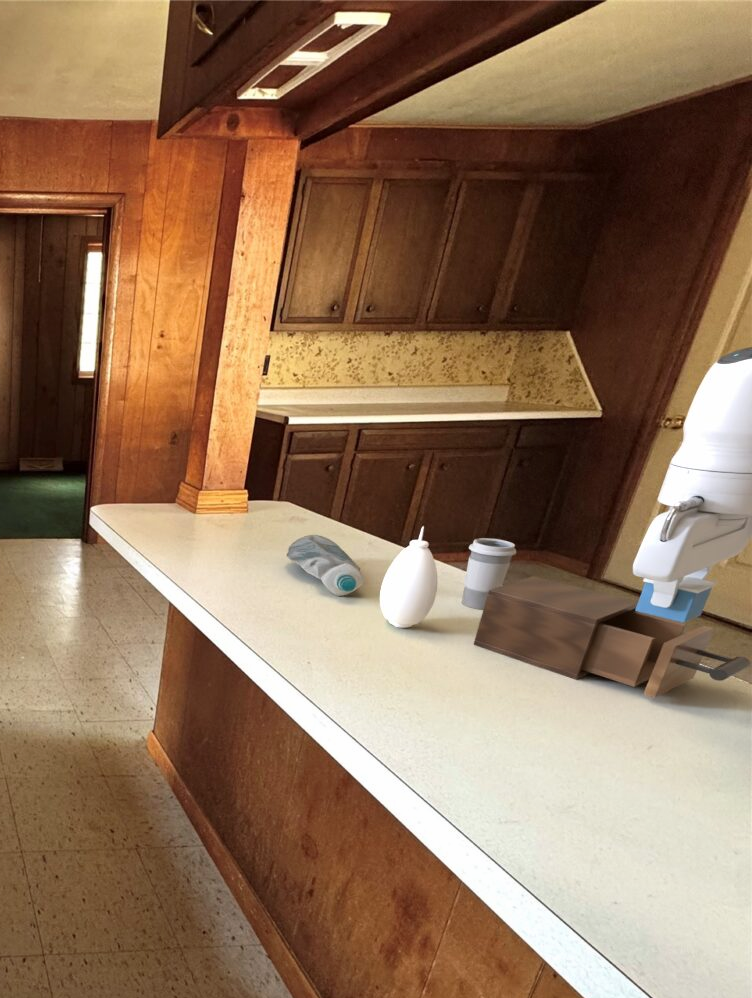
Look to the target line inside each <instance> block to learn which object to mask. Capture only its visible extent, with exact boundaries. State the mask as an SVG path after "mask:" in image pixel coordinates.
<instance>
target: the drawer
mask: <svg viewBox="0 0 752 998" xmlns="http://www.w3.org/2000/svg"><path fill="white" fill-rule="evenodd" d="M687 624H688V623H682V622H678V621H674V620H670V619H666V618H662V617H658V616H654V615H650V614H646V613H642V612H637V611H633V610H630V611H628V612H625V613H623V614H620V615H618V616H615V617H613V618H610V619H607V620H605V621H602V622H600V623H598V626H597V628H596V631H595V634H594V637H593V640H592V642H591V645H590V648H589V651H588V654H587V656H586V659H585V662H584V665H583V668H582V670H584V671H587V672H590V673H589V674H594V675H596V676H600V677H603V678H605V679H609V680H612V681H616V682H618V683H621V684H624V685H627V686H630V687H633V688H634V687H636V686H638V685H641V684H643V683H645V682H647V683H646V687H645V689H644V691H643V695H645V696H648V697H651V698H657V697H659V696H661V695H663V694H665V693H667V692H669V691H671V690H673V689H675V688H676V687H679V686H681V685H683V684H685V683H686V682H687V683H688V682H689V681H690V680H693V679H694V677H695V675H696V673H697V671H698V672H702V673H706V674H709V677H710V678H711V679H713V680H714V681H718V682H722V681H725V680H727V679H729V678H730V677H733V676H735V675H736V674H738V673H740V672H742V671H744V670H746V669H748V668H749V667H750V666H751V661H750V660H749V658H747V657H744V656H736V657H733V658H732V657H728V656H725V655H721V654H717V653H714V652H710V651H706V650H707V648H708V645H709V643H710V641H711V638H712V636H713V635H714V634H713V633H714V632H715V627H711V626H707V625H700V626H699V627H697V628H696V627H695V628H694V629H691V630H690V631H687V632H685V630H686V628H687ZM703 657H705V658H709V659H713V660H715V661H720V662H723V663H722V664H720V665H718V666H716V667H714V668H712V667H708V666H704V665H701V661H702V659H703Z"/></svg>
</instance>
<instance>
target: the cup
mask: <svg viewBox="0 0 752 998" xmlns="http://www.w3.org/2000/svg"><path fill="white" fill-rule="evenodd" d="M515 547H516V544H515V543H513V542H511V541H507V540H504V539H497V538H486V537H482V538H481V537H480V538H475V539H474V540H473V542H472V543H471V544H469V546H468V549H469V550H470V555H469V557H468V561H467V566H466V572H465V577H464V582H463V586H464V587H463V593H462V599H461V605H463V606H465V607H468V608H471V609H476V610H483V609H484V606H485V602H486V599H487V595H488V592H489V590H490V589H494V588H497V587H500V586H503V585H504V580H505V579H506V575H507V573H508V570H509V568H510V565H511V559H512V556H515V555H516V554H517V549H516V548H515Z"/></svg>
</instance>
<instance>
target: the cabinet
mask: <svg viewBox="0 0 752 998" xmlns="http://www.w3.org/2000/svg"><path fill="white" fill-rule="evenodd" d="M638 602H639V601H638V600H632V599H629V598H625V597H620V596H616V595H613V594H608V593H605V592H600V591H596V590H592V589H588V588H584V587H580V586H576V585H572V584H567V583H564V582H559V581H555V580H551V579H547V578H543V577H539V576H535V575H531V576H529V577H526V578H522V579H520V580H515V581H513V582H510V583H507V584H502V586H500V587H497V588H494V589H490V590H489V592H488V595H487V599H486V602H485V606H484V609H482V612H481V616H480V620H479V622H478V623H479V624H478V627H477V631H476V634H475V637H474V641H473V645H474V646H477V647H479V648H483V649H486V650H488V651H492V652H494V653H498V654H501V655H503V656H506V657H509V658H512V659H515V660H518V661H520V662H524V663H526V664H530V665H532V666H536V667H538V668H541V669H544V670H547V671H549V672H553V673H555V674H558V675H562V676H565V677H568V678H570V679H573V680H578V679H580V678H583V677H584V676H586V675H590V674H591V673H590V672H587V671H584V670H582V668H583V665H584V662H585V659H586V656H587V654H588V651H589V648H590V645H591V642H592V640H593V637H594V634H595V631H596V628H597V626H598V623H600V622H602V621H605V620H607V619H610V618H613V617H615V616H618V615H620V614H623V613H625V612H628V611H630V610H633V611H635V610H636V607H637V604H638ZM637 612H638V611H637Z"/></svg>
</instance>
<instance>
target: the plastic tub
mask: <svg viewBox="0 0 752 998" xmlns="http://www.w3.org/2000/svg"><path fill="white" fill-rule="evenodd" d="M642 582H644V586H643V588H642V591H641V593H640V596H639V599H638V601H637V602H638V604H637V607H636V610H635V611H638V612H641V613H644V614H648V615H652V616H656V617H660V618H664V619H668V620H672V621H676V622H680V623H684V624H686V623H688V622H689V621H691V620H694V619H695V618H698V617H700V616H701V615H702V614H703V612H704V611H703V610H704V609H705V606H706V604H707V601H708V600H709V599H708V598H709V597H710V593H711V592H712V589H713V588H714V587H716V586H717V584H718V582H716V581H711V580H707V579H705V580H702V579H697V578H692V577H687V576H684V578H683V580H682V582H680V583H679V587H678V591H677V593H679V594H678V597H677V599H676V602H675V604H673V605H672V606H670V607H667V608H664V607H660V606H655V605H653V604H651V598H652V596H653V593H654V583H653V580H651V579H647V578H643V579H642Z"/></svg>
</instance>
